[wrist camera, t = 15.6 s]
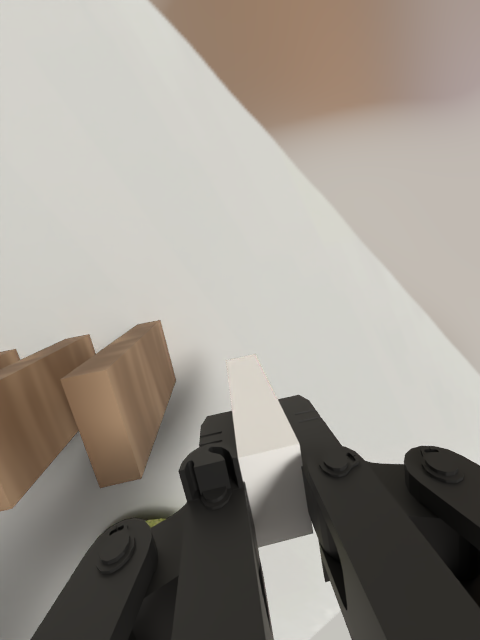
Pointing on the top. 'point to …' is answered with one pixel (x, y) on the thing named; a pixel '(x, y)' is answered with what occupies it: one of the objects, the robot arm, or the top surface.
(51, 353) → the domino
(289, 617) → the top surface
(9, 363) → the domino
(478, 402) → the top surface
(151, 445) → the domino
